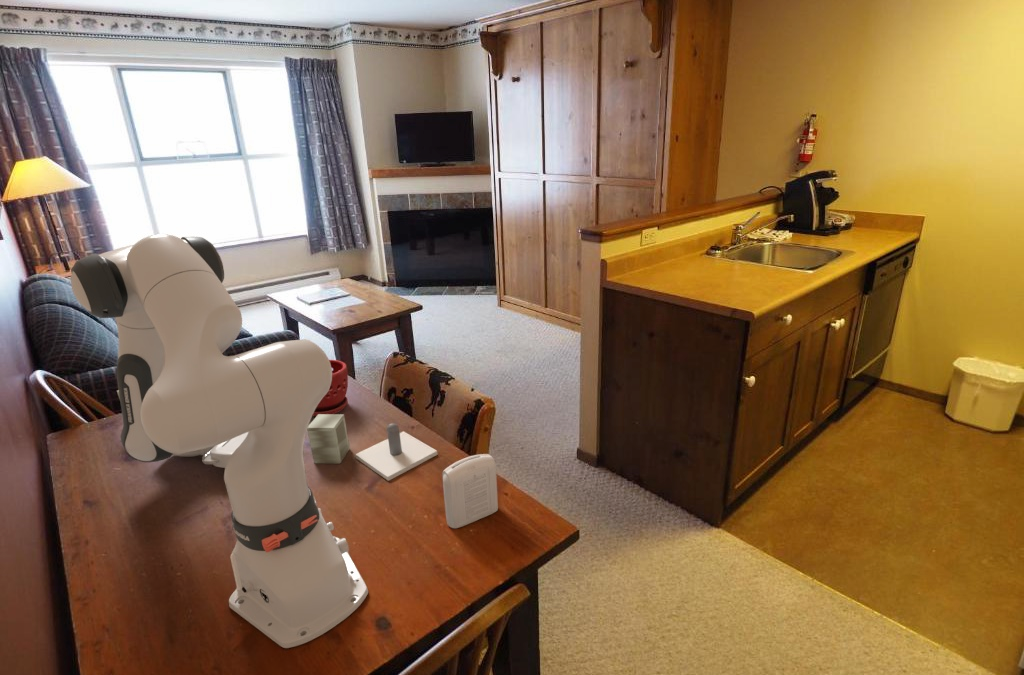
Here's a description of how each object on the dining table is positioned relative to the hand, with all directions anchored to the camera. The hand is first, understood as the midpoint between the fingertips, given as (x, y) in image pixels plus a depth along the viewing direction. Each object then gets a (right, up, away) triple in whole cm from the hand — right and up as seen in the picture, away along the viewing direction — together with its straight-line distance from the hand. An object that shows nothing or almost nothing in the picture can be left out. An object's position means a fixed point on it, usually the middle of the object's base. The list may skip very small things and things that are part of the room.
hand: (283, 437), depth 122 cm
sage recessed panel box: (+11, -4, +1) cm, 12 cm away
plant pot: (+2, +3, +23) cm, 23 cm away
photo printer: (+44, -11, -20) cm, 50 cm away
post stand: (+26, -4, 0) cm, 26 cm away
